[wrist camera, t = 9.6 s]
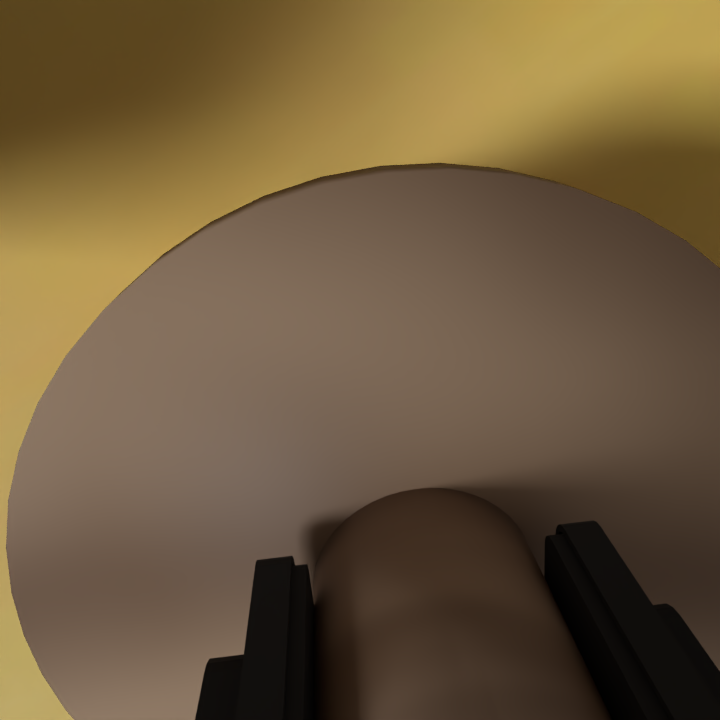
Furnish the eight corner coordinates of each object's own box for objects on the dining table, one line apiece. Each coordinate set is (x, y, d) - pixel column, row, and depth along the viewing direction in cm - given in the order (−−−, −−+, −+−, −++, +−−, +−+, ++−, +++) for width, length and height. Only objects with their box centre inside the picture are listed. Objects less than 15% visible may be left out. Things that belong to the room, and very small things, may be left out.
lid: (740, 757, 14) (1010, 1176, 9) (132, 838, 14) (12, 1323, 8) (831, 112, 10) (1556, 130, 4) (-83, 220, 9) (-681, 401, 4)
